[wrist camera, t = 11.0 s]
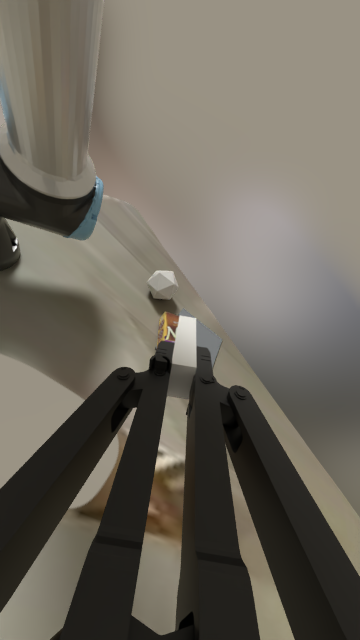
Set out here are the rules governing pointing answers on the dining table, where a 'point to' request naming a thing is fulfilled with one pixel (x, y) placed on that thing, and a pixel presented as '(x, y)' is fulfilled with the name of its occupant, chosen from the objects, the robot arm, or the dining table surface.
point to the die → (163, 284)
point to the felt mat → (205, 337)
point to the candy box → (168, 327)
